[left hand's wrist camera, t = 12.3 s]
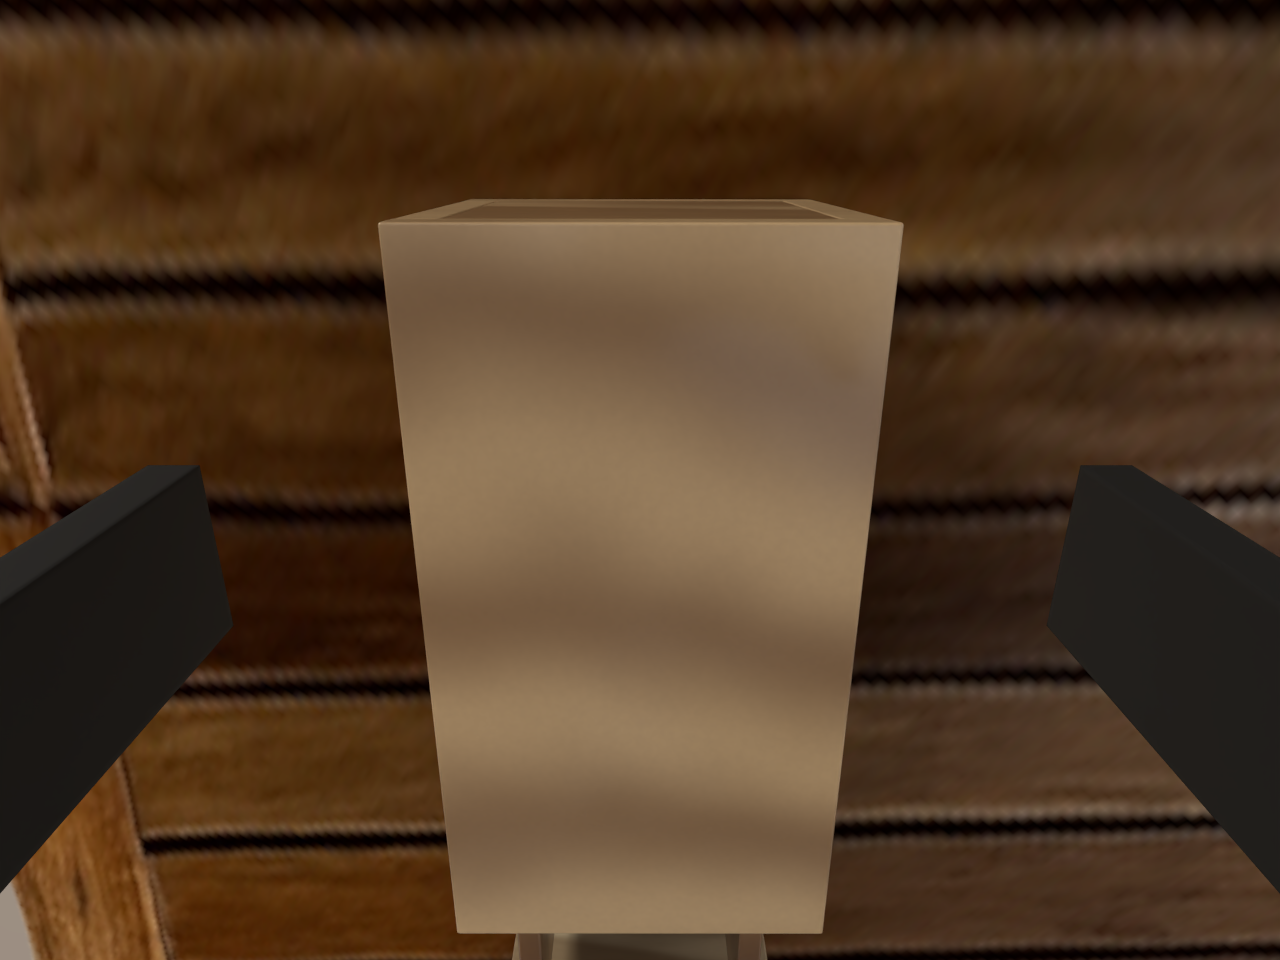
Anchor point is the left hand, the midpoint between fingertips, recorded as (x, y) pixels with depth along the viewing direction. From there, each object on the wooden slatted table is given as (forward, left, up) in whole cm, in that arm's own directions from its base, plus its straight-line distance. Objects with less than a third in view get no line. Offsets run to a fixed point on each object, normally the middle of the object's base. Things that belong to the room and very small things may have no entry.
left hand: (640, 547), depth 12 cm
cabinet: (0, +6, -18) cm, 19 cm away
